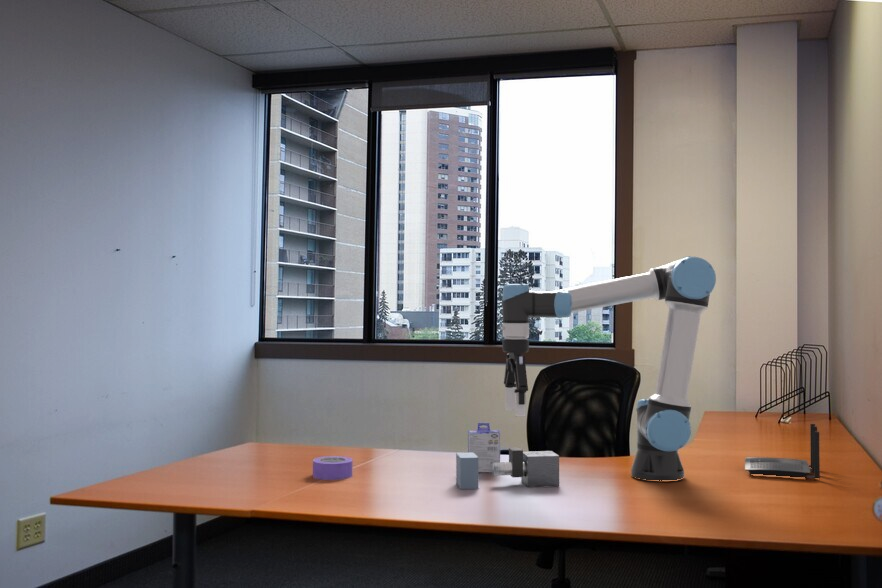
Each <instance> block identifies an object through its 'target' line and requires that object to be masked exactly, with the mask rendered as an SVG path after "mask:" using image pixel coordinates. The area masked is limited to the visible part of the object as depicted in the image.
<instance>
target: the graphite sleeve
mask: <svg viewBox="0 0 882 588" xmlns="http://www.w3.org/2000/svg"><path fill="white" fill-rule="evenodd" d="M523 462H526V475H523V477H520V479H521V483H522V484H524V485H525V486H526V488H547V487H551V488H552V487H560V455H559V454H557V453H556V452H554V451H553V450H540V451H539V450H538V451H536V450H535V451H532V450H531V451H523Z"/></svg>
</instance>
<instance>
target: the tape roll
mask: <svg viewBox="0 0 882 588" xmlns="http://www.w3.org/2000/svg"><path fill="white" fill-rule="evenodd" d="M353 466H354V465H353V458H352V457H348V456H340V455H339V456H338V455H336V456H335V455H331V456H328V455H327V456H321V457H316V458H314V459H313V460H312V477H313V479H317V480H322V481H323V480H324V481H338V480H345V479H350V478H352V477H353V469H354V468H353Z"/></svg>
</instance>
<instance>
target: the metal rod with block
mask: <svg viewBox="0 0 882 588" xmlns="http://www.w3.org/2000/svg"><path fill="white" fill-rule="evenodd" d="M523 452H524V450H523V449H522V448H520V447H509V448H508V461H505V462H504V461H503V462H502V461H500V462H497V463H493V464H492V472H491V473H492V476H510V477H511V478H521V477H523V475H526V462H523Z"/></svg>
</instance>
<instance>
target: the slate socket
mask: <svg viewBox="0 0 882 588" xmlns="http://www.w3.org/2000/svg"><path fill="white" fill-rule="evenodd" d="M455 456H456V458H455V459H456V460H455V467H456V469H455V473H456V475H455V479H456V480H455V481H456V482H455V483H456V485H457V486H458V488H459V489H460V490H475V489H476V490H477V489H479V472H478V457H477V456H476V455H475V453H474V452H472V453H468V452H456V453H455Z"/></svg>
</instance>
